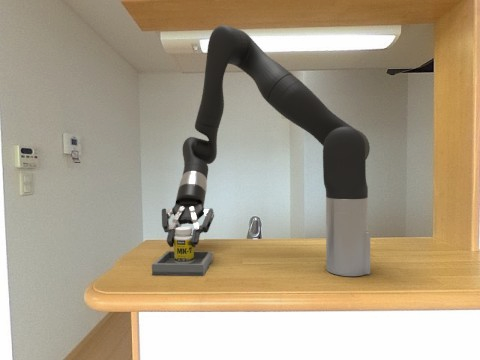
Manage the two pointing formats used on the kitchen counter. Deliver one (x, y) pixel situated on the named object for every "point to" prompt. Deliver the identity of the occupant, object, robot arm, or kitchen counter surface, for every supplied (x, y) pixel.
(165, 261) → the tray
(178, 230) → the supplement bottle
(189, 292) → the kitchen counter surface
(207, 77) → the robot arm
